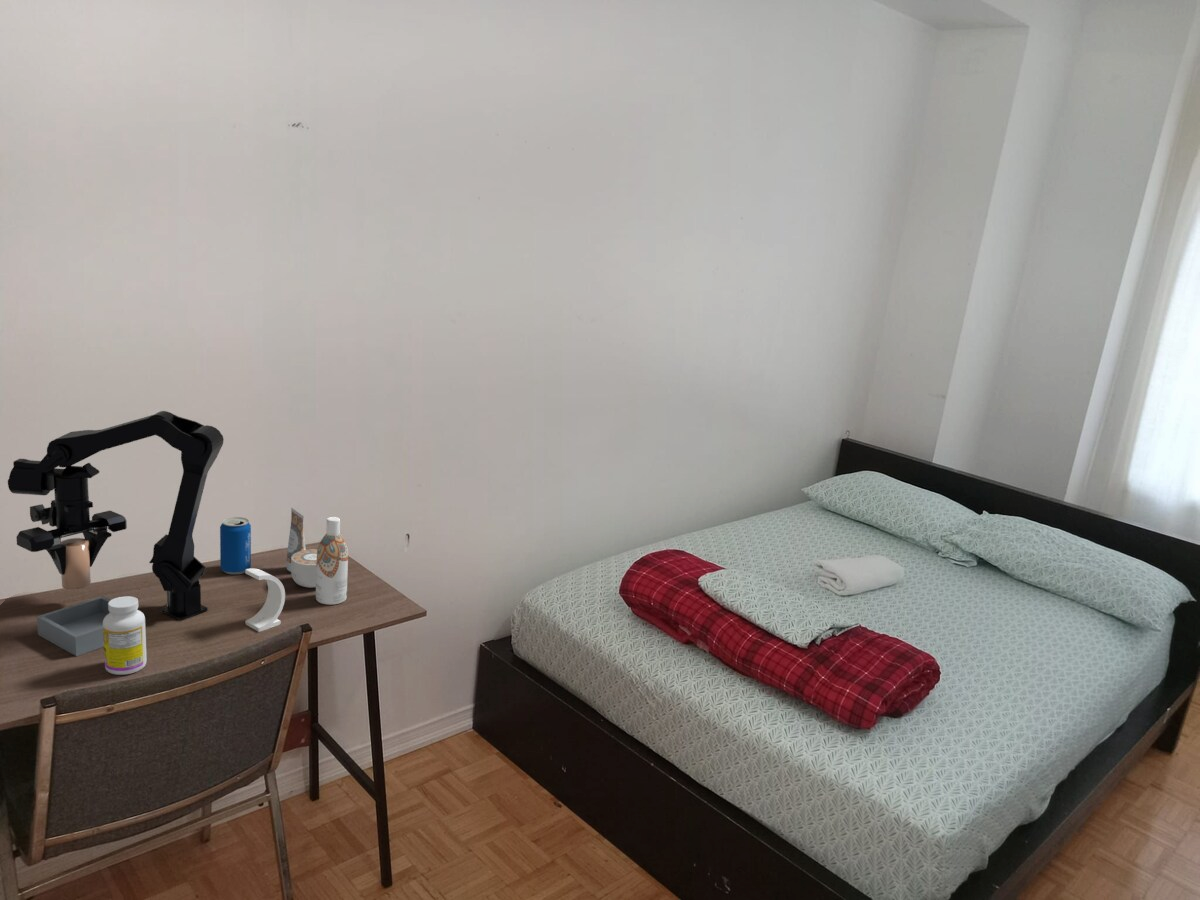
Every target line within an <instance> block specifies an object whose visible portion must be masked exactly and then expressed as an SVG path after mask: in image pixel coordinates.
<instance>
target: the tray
mask: <svg viewBox="0 0 1200 900" xmlns="http://www.w3.org/2000/svg"><path fill="white" fill-rule="evenodd" d="M110 600H112V599H111V598H109V597H106V596H104V595H101V596H98V597H94V598H92V599H91V598H90V599H88V600H84V601H82V602H79V603H76V604H72V605H69V606H66V607H63V608H59V609H56V610H53V611H49V612H47V613H43V614H41V615H38V616H36V623H37V624H36V626H37V635H38V636H39V637H41V638H43V639H45V640H46V641H48V642H51V643H52V644H54V646H57V647H58V648H60V649H63V650H64V651H66V652H68V653H69V654H71V655H74V656H75V657H79V656H81V655H82V656H83V655H84V654H86V653H89V652H92V651H95V650H97V649H101V648H104V638H103V620H104V618H105V617H106V616H107V615H108V614H109V613H110V612H109V610H108V603H109V601H110Z"/></svg>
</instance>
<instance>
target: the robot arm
mask: <svg viewBox="0 0 1200 900" xmlns="http://www.w3.org/2000/svg"><path fill="white" fill-rule="evenodd" d="M154 436H157V437H159V438H161V439H162V440H163V441H165V442H166V443H167V444H168V445H169V446H170V447H172V448H174V449H176V450H178V451H180V452H181V453H180V460H181V465H182V470H183V471H182V476H181V480H180V485H179V488H178V492H177V496H176V500H175V501H176V502H175V504H174V509H173V513H172V518H171V521H170V524H169V525H170V526H169V528H168V534H167V533H166V534H164V536H162V537H161V538H160V539H159V540H158V541H157V542H156V543H154V545H153V548H152V549H153V552H152V558H151V559H150V560H149V562H148V563H149V564H152V565H151V570H152V573H153V574H154V575H155V576H156V578H158V580H159V582H160V584H161V587H162V588H163V591H165V592H166V596H167V599H166V600H167V601H166V602H167V606H164V607H161V608H160V611H161V612H162V613H164V614H166V615H168V616H170V617H172V618H175V619H176V620H179V621H182V620H185V619H188V618H191V617H193V616H195V615H198V614H201V613H204V612H207V611H208V609H209V608H208V607H207V606H205V605H203V604H202V599H201V598H202V597H201V593H202V592H201V591H202V587H201V584H200V581H199V580H200V578H202V577H203V576H204V573H205V572H206V569H207V568H206V566H205V565H204V564H203V563H202V562H200V560H199V559H197V558H196V557H195V543H194V539H193V533H194V529H195V525H196V520H197V517H198V513H199V508H200V504H201V501H202V496H203V493H204V488H205V485H206V480H207V477H208V474H209V471H210V469H211V467H212V466H213V465H214V463H215V461H216V459H217V458H218V455H219V453H220V451H221V449H222V447H223V445H224V436H223V434H222V433H221V431H220V430H219V429H217V427H214V426H213V425H208V424H207V425H204V424H201V423H200V422H197V421H195V420H192V419H188V418H185V417H181V416H178V415H176V414H174V413H171V412H169V411H168V410H167V411H166V410H160V411H158V412H156V413H155V414H152V415H147V416H143V417H140V418H138V419H134V420H130V421H127V422H123V423H120V424H117V425H116V424H115V425H113V426H109V427H107V428H106V427H105V428H102V429H95V430H94V429H85V430H75V431H70V432H68V433H66V434H63V435H61V436H58V437H57V438H55V439H52V440H51V441H49V442H48V444H47V447H46V454H45V456H44V457H43V458H42V459H41V460H33V459H26V458H18V459H16V460H14V461H13V464H12V465H13V467H12V469H11V470H10V473H9V477H8V479H7V487H8V489H9V491H10V492H11V493H12V494H14V495H15V494H19V495H34V496H47V495H49V493H50V492H51V491H54V499H53V500H52V499H51V501H50V506H49V507H45V505H44V504H43V503H42V504H36V505H31V506H29V516H30V520H31V521H32V523H35V522H41V525H47V524H49V526H50V527H54V529H50V530H46V529H44V528H41V527H39V526H37V527H32V528H28V529H24V530H20V531H19V532H18V533H17V534H16V536H15V537H16V545H17V546H18V547H21V548H22V549H25V550H27V551H29V552H31V553H37V552H41V551H46V552H47V553H48V555H49V556H50V557H51V559H52V561H53V564H54V565H55V567H56V569H57V571H58V574H60V575H61V574H62V575H64V574H65V569H66V546H65V545H63V544H61V541H62V538H65V537H66V538H67V537H71V536H74V535H78V534H82V535H83V537H84V538H83V539H87V540H88V541H89V556H90V568H91V567H92V566H93V564H94V563H95V562H96V561H95V560H96V558H97V557H98V554H99V553H100V551H101V549H102V547H103V546H104V544H105V543H106V541H107V540H108V538H110V537H112V536H113V535H112V533H116V532H119V531H124V530H127V528H128V526H127V523H128V522H127V518H126V517H125V516H124V515H122V514H120V513H117V512H115V511H113V510H106V511H101V512H96V513H94V514H93V515H92V516H91V517H90V514H91V513H90V508H93V507H94V504H93V501H90V499H89V498H90V497H89V496H90V495H89V494H90V493H89V480H88V479H92V478H93V477H95V476H96V475H98V474H100V470H99V469H97V468H96V467H95V466H93V465H92V464H91V462H87V463H86V464H84V465H82V466H80V465H76V464H78V463H80V462H81V461H83V460H85V459H87V458H89V457H92V456H94V455H96V454H98V453H100V452H102V451H105V450H109V449H112V448H115V447H119V446H122V445H125V444H129V443H132V442H137V441H139V440H143V439H147V438H151V437H154ZM58 467H59V468H58ZM55 527H56V528H55ZM108 530H109V531H110V532H109V531H108ZM111 532H112V533H111Z"/></svg>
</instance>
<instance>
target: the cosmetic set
mask: <svg viewBox="0 0 1200 900" xmlns="http://www.w3.org/2000/svg"><path fill="white" fill-rule="evenodd" d="M290 512H291V514H290V515H291V516H290V518H291V519H290V527H289V536H288V543H287V552H286V562H285V563H286V564H285V565H286V570H287V571H288V572H290V574H291V577H292V579H293V581H294V582H295V583H296V584H297V585H298V586H300V587H303V588H311V589H315V599H316V601H317V603H320V604H322V605H332V606H333V605H339V604H341V603H344V602H345V601H346V600H347V598H348V597H347V595H348V575H349V574H348V567H349V549H348V545H347V541H346V540H345V539H344V537H343V535H342V534H341V533H340V531H341V519H340V517H338V516H330V517H327V518H326V533H325V535H324V536H323V537H322V539H320V541H319V544H318V545H317V548H316V549H306V539H305V531H304V515H302V513H300V512H298V510H296V509H294V508H293V507H290Z"/></svg>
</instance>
